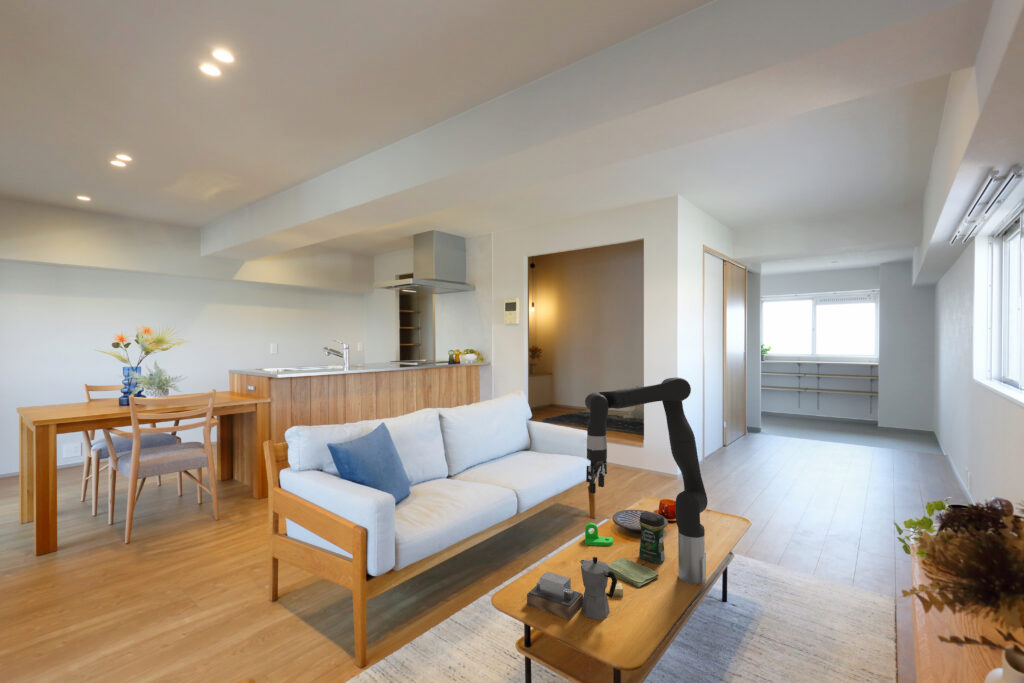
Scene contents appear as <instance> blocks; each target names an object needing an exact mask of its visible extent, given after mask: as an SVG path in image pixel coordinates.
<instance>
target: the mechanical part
mask: <svg viewBox="0 0 1024 683" xmlns="http://www.w3.org/2000/svg"><path fill="white" fill-rule="evenodd" d="M591 529H593V531H592V532H591V531H589V530H591ZM584 532H585V533H584V535H585V536H584V541H585V542H584V543H585V544H584V545H586V546H602V547H603V546H604V547H611V546H612V545H614V538H613V537H612V536H600V535H599V529H598V525H597V524H596V523H594V522H588V523H587V524H585V526H584Z"/></svg>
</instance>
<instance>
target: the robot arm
mask: <svg viewBox="0 0 1024 683" xmlns="http://www.w3.org/2000/svg"><path fill="white" fill-rule="evenodd" d="M691 391H692V388H691V385H690V383H689V381H688V380H686V379H685V378H683V377H679V376H678V377H669V378H665V379H663V380H662V381H661V383H657V384H651V385H647V386H636V387H626V388H622V389H616V390H612V391H611V390H610V391H609V390H607V391H597V392H596V391H595V392H592V393H589V394H588V395H587V396H586V397H585V400H584V404H585V406H586V408H587V409H588V410H589V419H588V421H587V425H586V427H587V428H586V429H587V430H586V433H587V435H586V459H587V460H588V461H590V465H586V473H585V475H586V476H585V477H586V481H585V482H586V483H589V484H588V485H589V486H588V487H589V490H588V491H589V493H590V494H596V492H597V491H596V490H597V489H596V488H597V487H596V486H597V485H598V487H599V488H604V487H605V478H606V475H607V474H608V469H607V468H608V461H607V460H608V439H607V420H608V414H609V409H616V410H617V409H619V410H621V409H625V408H631V407H636V406H640V405H644V404H651V403H657V402H662V405H663V409H664V414H665V418H666V425H667V430H668V437H669V445H670V450H671V455H672V457H673V459H674V461H675V463H676V466H678V468H679V470H680V472H681V476H682V479H683V480H682V481H683V491H681V492H679V493H678V494H677V496H676V498H675V503H674V504H675V505H674V506H675V509H674V510H675V522H676V526H677V531H678V532H677V533H678V534H677V536H678V537H677V539H678V540H677V542H678V543H677V544H678V546H677V548H678V550H677V551H678V552H677V553H678V554H677V556H678V557H677V558H678V559H677V560H678V561H677V562H678V563H677V564H678V568H677V569H678V570H677V572H678V578H679V580H680V581H682V582H684V583H686V584H689V585H694V584H701V585H700V586H703V585H704V584H705V582H706V579H707V554H706V552H705V548H706V547H705V546H706V545H705V544H706V540H705V539H706V537H705V534H706V532H705V530H706V529H705V526H704V525H703V524H701V513H702V512H704V511H705V510H706V509H707V507H708V496H707V491H706V488H705V484H704V483H703V482H704V481H703V478H702V473H701V468H700V467H701V466H700V462H699V456H698V449H697V443H696V437H695V433H694V431H693V429H692V427H691V425H690V423H689V421H688V419H687V417H686V414H685V411H684V405H683V401H685V400H686V399H688V397H689V396H690V395H691V393H692V392H691ZM596 482H598V483H596Z"/></svg>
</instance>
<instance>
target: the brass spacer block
mask: <svg viewBox="0 0 1024 683" xmlns="http://www.w3.org/2000/svg"><path fill="white" fill-rule="evenodd" d="M611 583H612V582H610V585H609V589H610V588H611ZM613 597H619V598H623V597H624V588H623V583H622V582H621V583H620V582H617V584H616V587H615V591H614V594H613Z"/></svg>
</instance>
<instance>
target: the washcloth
mask: <svg viewBox="0 0 1024 683" xmlns="http://www.w3.org/2000/svg"><path fill="white" fill-rule="evenodd" d="M606 564H607V565H608V566H609V567H610V568H609V571H610V572H613V573H614V574H615V576H616V578H617V579H620V580H622V581H624V582H625V583H628V584H631V585H632V586H635V587H637V588H641V587H643V586H644V585H645V584H649V583H651V582H652V581H653V580H654V579H656V578H659V574H658V573H657V571H654V569H652V568H650V567H647V566H645V565H643V564H640V563H637V562H635V561H633V560H631V559H629V558H625V557H620V558H619V557H618V559H615V560H614V561H613V562H609V563H606Z"/></svg>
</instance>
